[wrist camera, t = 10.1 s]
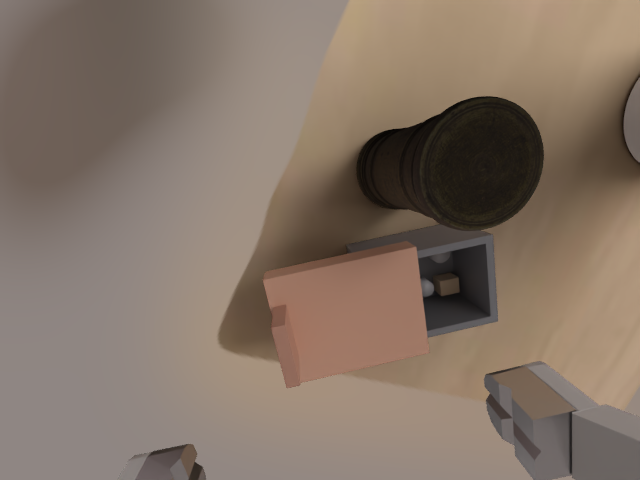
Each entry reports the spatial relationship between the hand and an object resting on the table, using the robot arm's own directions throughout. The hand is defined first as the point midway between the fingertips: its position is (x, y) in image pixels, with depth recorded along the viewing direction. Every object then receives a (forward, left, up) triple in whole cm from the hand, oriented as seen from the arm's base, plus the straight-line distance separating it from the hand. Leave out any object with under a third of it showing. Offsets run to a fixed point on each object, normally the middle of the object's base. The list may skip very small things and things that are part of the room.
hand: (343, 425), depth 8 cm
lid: (-3, +8, -23) cm, 24 cm away
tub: (-12, +8, -29) cm, 33 cm away
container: (-12, -5, -30) cm, 32 cm away
